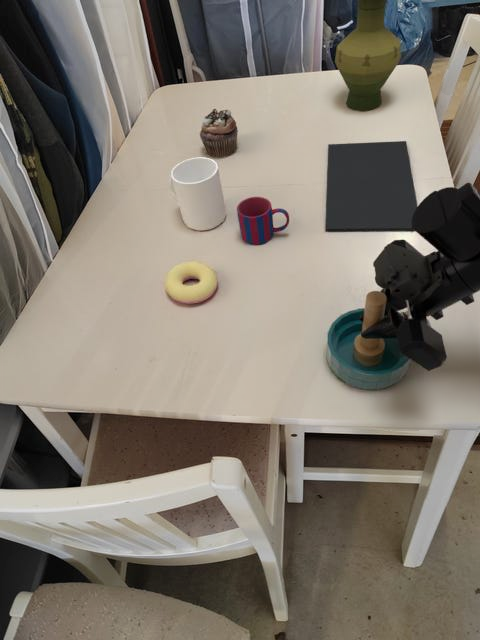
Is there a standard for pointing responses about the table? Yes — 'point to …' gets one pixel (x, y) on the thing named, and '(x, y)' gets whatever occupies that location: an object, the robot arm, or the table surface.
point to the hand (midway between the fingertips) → (362, 328)
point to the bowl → (345, 364)
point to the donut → (196, 291)
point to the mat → (369, 187)
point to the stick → (368, 349)
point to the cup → (258, 220)
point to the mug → (198, 193)
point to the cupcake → (219, 134)
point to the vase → (367, 56)
